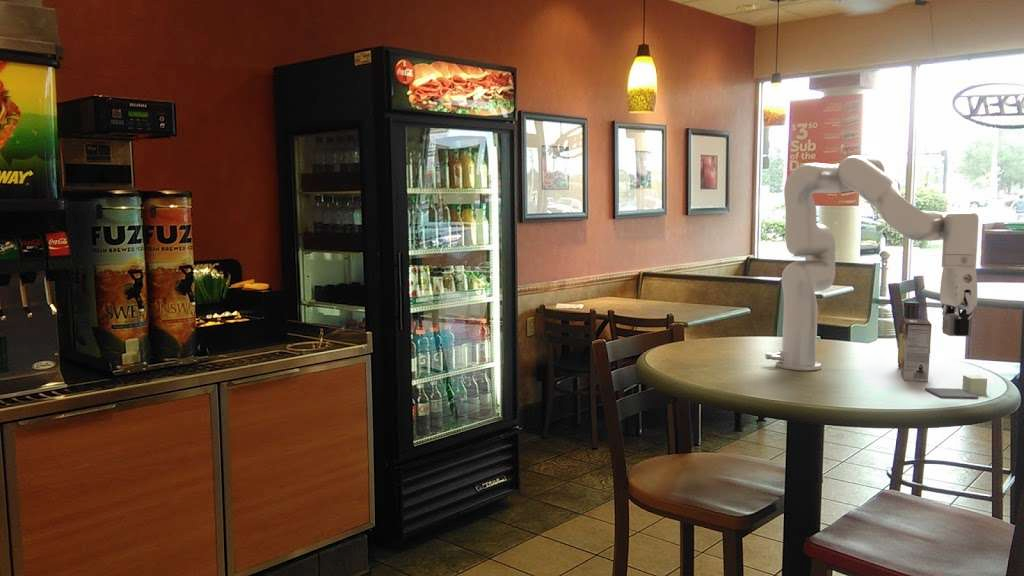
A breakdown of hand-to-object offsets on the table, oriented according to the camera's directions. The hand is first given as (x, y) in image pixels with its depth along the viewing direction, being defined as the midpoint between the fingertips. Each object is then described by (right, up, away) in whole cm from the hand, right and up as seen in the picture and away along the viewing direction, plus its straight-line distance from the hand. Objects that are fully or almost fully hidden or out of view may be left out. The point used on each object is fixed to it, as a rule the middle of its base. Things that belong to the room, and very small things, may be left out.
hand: (955, 332), depth 202 cm
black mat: (0, -16, +2) cm, 16 cm away
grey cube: (0, -1, 0) cm, 1 cm away
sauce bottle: (+5, -13, +34) cm, 37 cm away
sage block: (+8, -16, +5) cm, 18 cm away
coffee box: (+1, -14, +22) cm, 26 cm away
